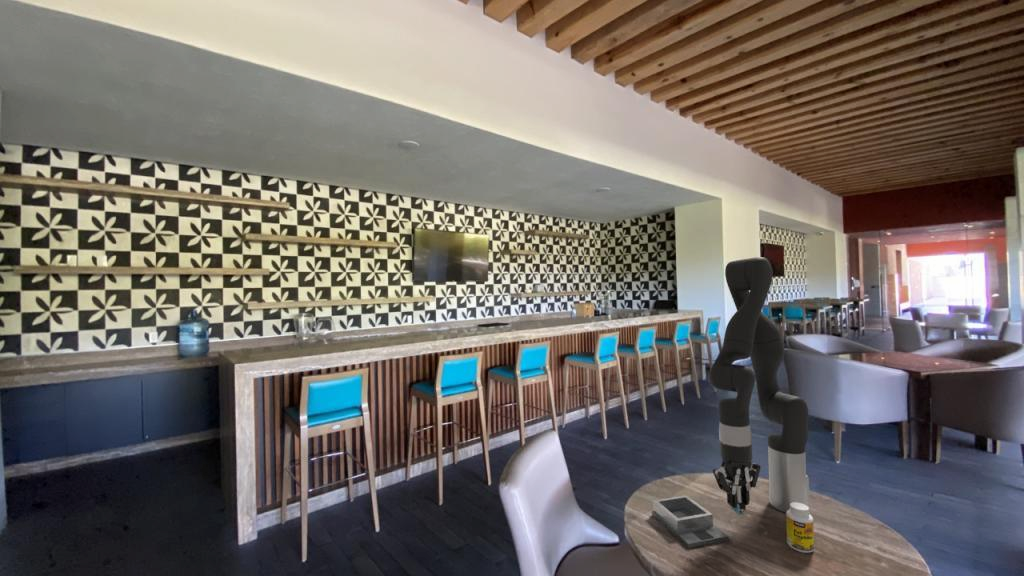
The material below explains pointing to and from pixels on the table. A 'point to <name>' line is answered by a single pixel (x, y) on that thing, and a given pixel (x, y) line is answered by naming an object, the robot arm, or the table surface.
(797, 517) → the supplement bottle
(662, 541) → the table surface
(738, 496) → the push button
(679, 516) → the gray open box
